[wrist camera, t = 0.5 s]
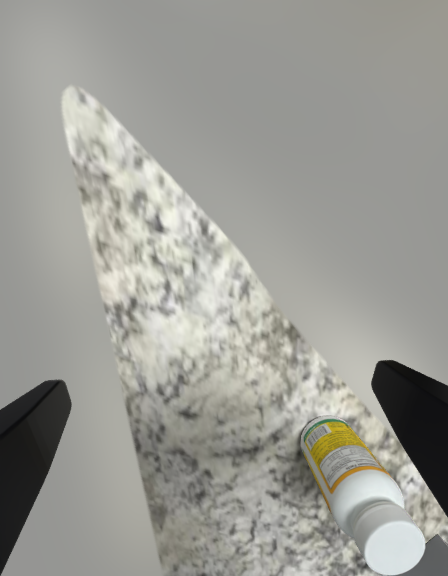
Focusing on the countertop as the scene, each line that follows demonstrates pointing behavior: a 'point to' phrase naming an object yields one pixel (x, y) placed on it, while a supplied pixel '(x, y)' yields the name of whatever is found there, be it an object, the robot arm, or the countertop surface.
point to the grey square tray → (431, 560)
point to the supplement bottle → (362, 496)
